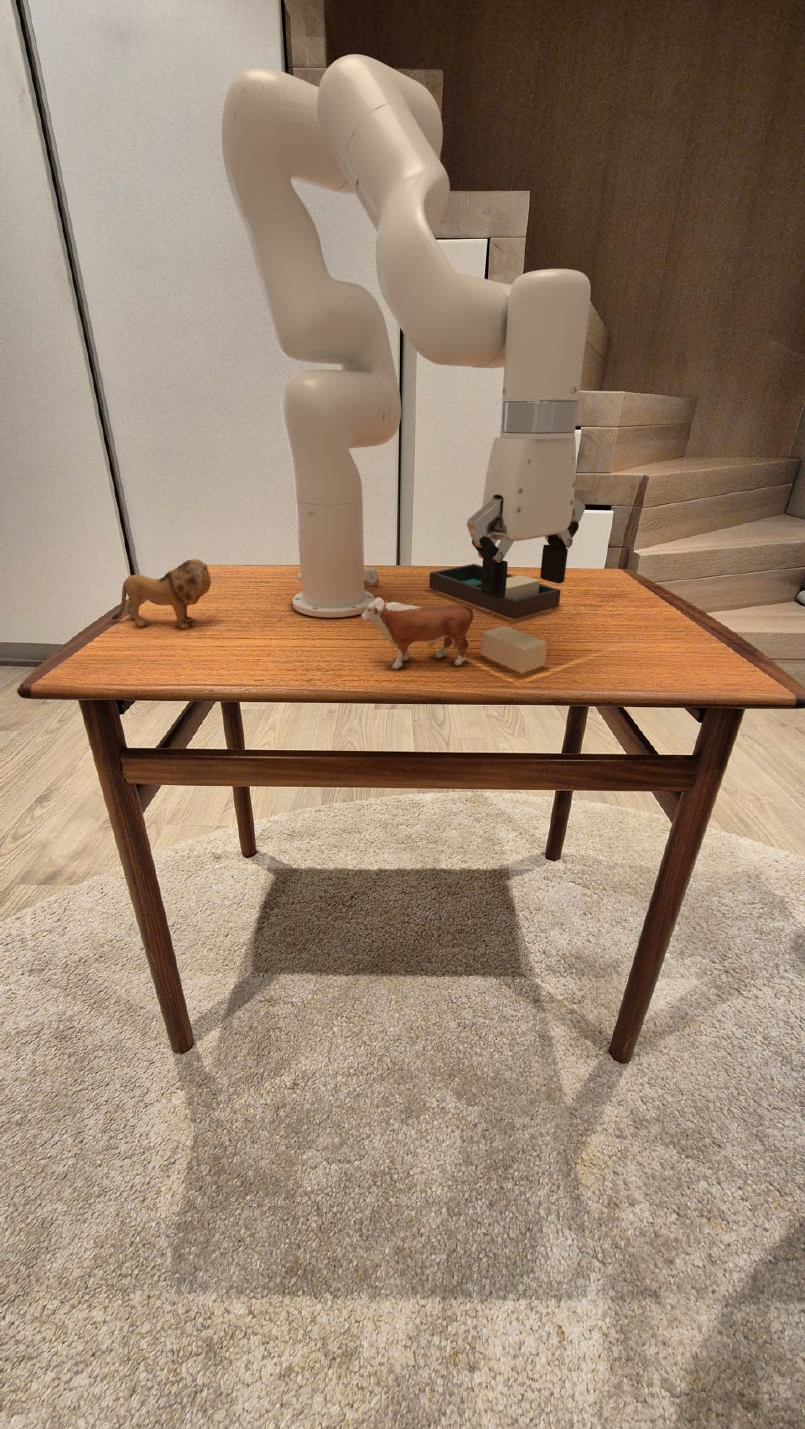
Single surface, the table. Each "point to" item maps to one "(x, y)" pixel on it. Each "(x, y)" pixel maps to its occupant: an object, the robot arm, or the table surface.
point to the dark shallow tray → (468, 588)
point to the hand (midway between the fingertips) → (523, 588)
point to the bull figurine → (421, 626)
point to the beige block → (521, 587)
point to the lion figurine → (167, 591)
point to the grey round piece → (371, 578)
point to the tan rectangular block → (513, 648)
